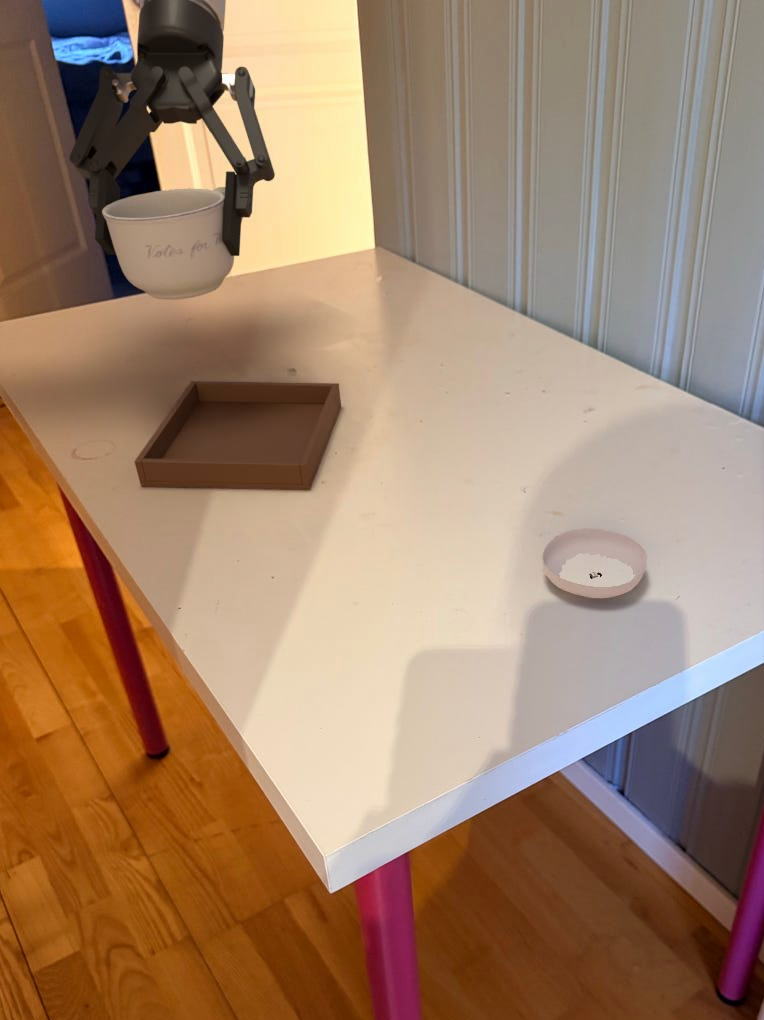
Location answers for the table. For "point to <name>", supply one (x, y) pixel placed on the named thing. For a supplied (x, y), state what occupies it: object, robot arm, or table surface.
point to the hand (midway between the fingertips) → (168, 247)
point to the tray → (242, 436)
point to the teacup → (171, 241)
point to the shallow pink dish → (593, 544)
